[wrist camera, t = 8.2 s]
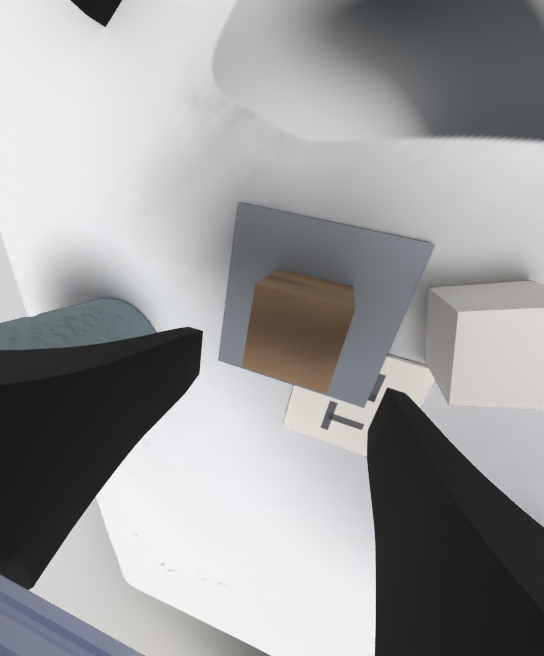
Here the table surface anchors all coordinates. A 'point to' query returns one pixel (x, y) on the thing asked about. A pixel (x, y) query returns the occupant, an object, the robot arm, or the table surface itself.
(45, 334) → the green cup
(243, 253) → the slate pad
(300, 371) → the walnut block
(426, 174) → the table surface
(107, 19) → the battery charger
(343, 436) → the tile
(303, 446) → the table surface
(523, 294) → the off-white block
